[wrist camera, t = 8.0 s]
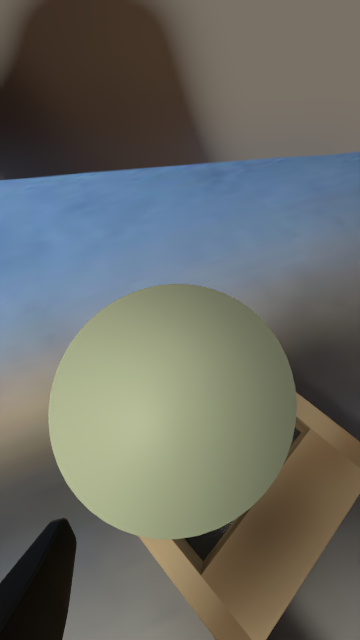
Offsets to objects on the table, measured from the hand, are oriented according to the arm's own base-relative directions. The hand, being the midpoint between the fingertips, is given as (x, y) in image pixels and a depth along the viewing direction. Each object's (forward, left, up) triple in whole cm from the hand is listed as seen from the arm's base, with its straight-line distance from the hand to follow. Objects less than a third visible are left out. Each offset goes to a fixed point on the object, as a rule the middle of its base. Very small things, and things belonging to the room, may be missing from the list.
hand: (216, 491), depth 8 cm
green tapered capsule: (+2, -1, -8) cm, 8 cm away
